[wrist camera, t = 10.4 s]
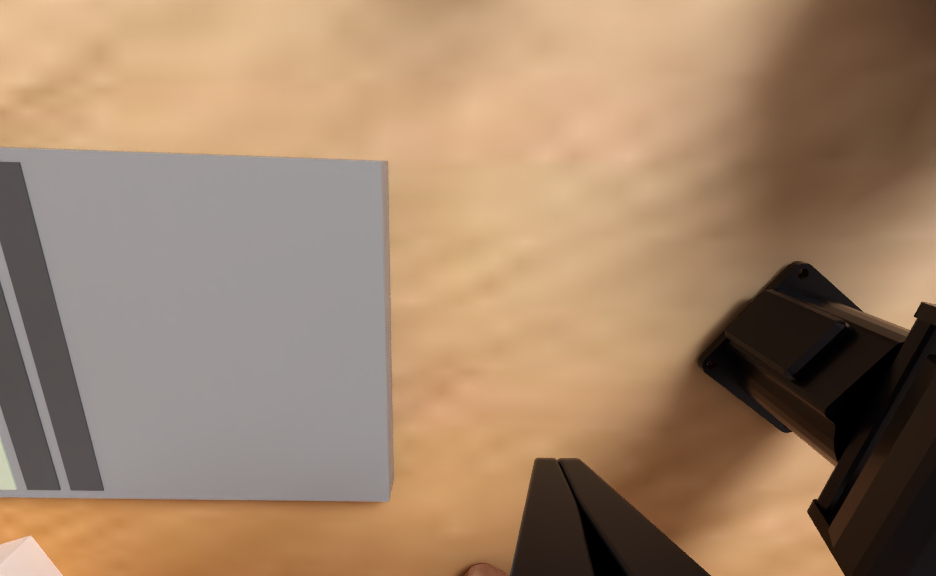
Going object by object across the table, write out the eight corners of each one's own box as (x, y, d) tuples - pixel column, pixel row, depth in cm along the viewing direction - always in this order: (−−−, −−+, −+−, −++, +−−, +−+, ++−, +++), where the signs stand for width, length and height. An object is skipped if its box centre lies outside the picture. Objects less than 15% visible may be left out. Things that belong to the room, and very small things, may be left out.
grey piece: (387, 160, 18) (358, 163, 13) (393, 479, 23) (373, 577, 17) (-273, 137, 17) (-596, 129, 12) (-125, 472, 22) (-311, 573, 17)
